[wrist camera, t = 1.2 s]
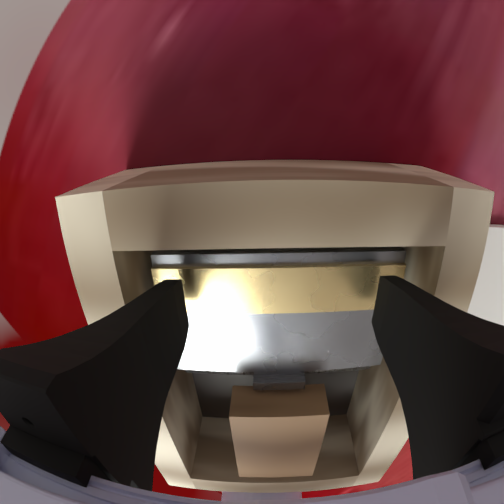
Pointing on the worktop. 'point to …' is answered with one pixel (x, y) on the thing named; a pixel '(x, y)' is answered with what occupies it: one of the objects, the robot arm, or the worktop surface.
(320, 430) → the walnut bar
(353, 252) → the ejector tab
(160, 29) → the worktop surface
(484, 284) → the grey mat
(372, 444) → the pocket board
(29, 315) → the worktop surface
